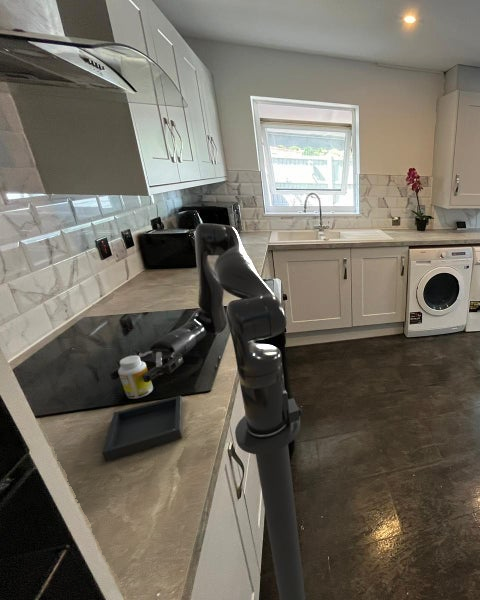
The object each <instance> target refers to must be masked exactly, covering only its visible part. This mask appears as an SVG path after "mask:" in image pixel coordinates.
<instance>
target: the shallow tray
mask: <svg viewBox="0 0 480 600" xmlns="http://www.w3.org/2000/svg"><path fill="white" fill-rule="evenodd" d="M183 415H184V402H183V399H182V395H176V396H173V397H169V398H165V399H161V400H156V401H153V402H150V403H146V404H141V405H138V406H134V407H130V408H126V409H122V410H118V411H114V412H113V414H112V418H111V420H110V424H109V427H108V431H107V434H106V437H105V442H104V445H103V447H102V452H101V454H102V457H103V459H104V461H105V463H106V462H110V461H114V460H117V459H120V458H123V457H126V456H128V455H129V456H130V455H133V454H137V453H139V452H142V451H145V450H150V449H152V448H156V447H159V446H162V445H165V444H169V443H172V442H175V441H178V440H181V439H183Z"/></svg>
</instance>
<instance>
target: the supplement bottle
mask: <svg viewBox="0 0 480 600" xmlns="http://www.w3.org/2000/svg"><path fill="white" fill-rule="evenodd" d="M122 358H123V357H122ZM120 366H121V367H120V368H119V370H118V373H119V376H120V377H119V379H120V382H121V385H122V387H123V390H124V394H125V396H126V397H127V399H131V400H135V399H141V398H144V397H146V396H148V395H149V394H151V393H152V392H153V390H154V386H153V383H152V380H151V381H149V382H144V380H143V375H144V374H145V373H147V372H148V371H149V369H148V367H147V366H146V364H145V362H142V361H141V359H140V357H139V356H129V357H126V358H123V359H122V360H121V361H120Z"/></svg>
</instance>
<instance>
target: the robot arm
mask: <svg viewBox="0 0 480 600" xmlns="http://www.w3.org/2000/svg"><path fill="white" fill-rule="evenodd" d="M194 248H195V261H196V270H197V277H198V297H197V304H198V305H197V306H198V307H199V308H198V309H197V310H195V311H194V312H193V313H192V315H191V317H190V318H189V319H188V320H187V321H186V323H184V324H183V325H181V326H179V327H178V328H177V329H174V330H172V331H170V332H169V333H167V334H165V335H163V336H162V337H161V338H159V339H158V340H156V341H155V342H154V343H152V344H151V347H150V348H149V350H147V351H144V352H143V353H142V352H140V350H138V349H137V350H133V351H132V352H130V353H128V354H126V355H125V356H123V357H121V358H119V359H118V360H116V363H117V367H116V368H113V370H111V371H110V373H109V375H110V378H111V380H117V379H120V376H119V373H118V370H119V368H120V367H121V366H120V361H121V360H122V359H123V358H126V357H129V356H139V357H140V360H141V361H142V362H145V364H146V366H147V368H151V369H148V372H147V373H145V374H144V375H143V380H144V382H149V381H151V382H152V381H153V380H154V379H155V378H157V377H158V376H161V375H163V374H164V373H166V374H167V375H168V374H172V373H173V372H174V371H175V370H176V369H178V368H179V367H180V366H181V365H182V364H183V363H184V358H183V356H185V355H186V354H187V353H189V352H190V351H191V350H192V349H193V348H194V347H195V346H196V345H197V344H199V343H200V342H202V341H203V340H204V339H205V338H206V336H207V333H210V334H212V335H213V334H214V335H218V334H221V333H222V332H224V330H225V329H226V327H227V324H228V329H229V333H230V336H231V340H232V345H233V350H234V355H235V361H236V368H237V372H238V380H239V385H240V391H241V392H240V393H241V397H242V403H243V410H244V416H246V421H247V430H248V433H249V434H250V435H251V436H252V437H254V438H258V439H265V438H270V437H273V436H276V435H278V434H279V433H281V432H282V431H283V430H284V429H285V428H286V427H288V426H290V425H291V423H292V422H295V421H298V420H300V421H301V416H302V414H303V410H302V408H301V407H298V405H297V403H296V400H295V398H294V397H293V398H289V395H288V392H287V390H286V387H285V385H286V384H285V377H284V367H283V358H282V357H283V355H282V352H281V350H280V348H278V347H277V346H274V345H272V344H269V343H268V344H267V343H259V342H258V343H257V342H256V341H261V340H262V341H263V340H265V339H269V338H273V337H277V336H279V335H282V334H283V333H284V331H286V328H287V324H288V323H287V322H288V321H287V315H286V311H285V309H284V307H283V305H282V303H281V301H280V300H279V298H278V296H277V295H276V294H275V293H274V291H272V289H271V288H270V287H269V286H268V285H267V283H266V282H265V281H264V279H263V277H262V276H261V274H260V272H259V271H258V269H257V267H256V265H255V264H254V262H253V261H252V259H251V258H250V256H249V255H248V254H247V251H246V250H245V248H244V245H243V243H242V241H241V238H240V235H239V233H238V231H237V230H236V229H235V228H234V227H233V226H231V225H227V224H219V223H218V224H217V223H204V222H203V223H198V224H197V226H196V227H195V232H194ZM209 256H212V257H217V258H216V260H215V262H214V266H213V267H212V265H211V264H210V261H209ZM224 292H226V293H228V294H230V295H232V296H233V297H236V298H239V299H234V300H231V301H229V302H228V303H227V306H226V310H225V307H224V295H225V293H224Z"/></svg>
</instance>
